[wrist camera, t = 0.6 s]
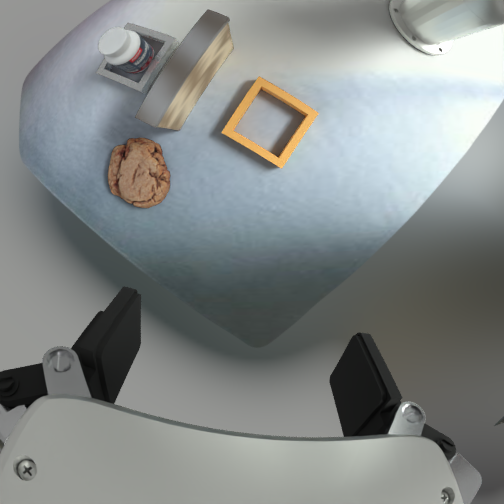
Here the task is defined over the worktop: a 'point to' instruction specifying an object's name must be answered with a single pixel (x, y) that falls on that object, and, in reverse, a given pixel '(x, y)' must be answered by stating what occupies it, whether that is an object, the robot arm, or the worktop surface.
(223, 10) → the worktop surface
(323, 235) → the worktop surface
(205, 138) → the worktop surface
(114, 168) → the cookie
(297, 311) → the worktop surface
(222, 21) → the beige brown upright block
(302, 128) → the collar
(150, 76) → the collar
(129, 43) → the pill bottle
